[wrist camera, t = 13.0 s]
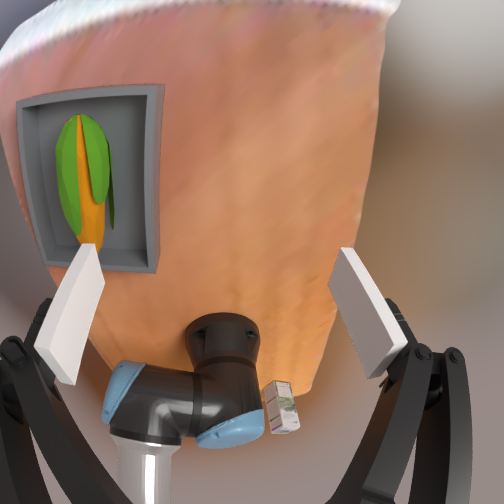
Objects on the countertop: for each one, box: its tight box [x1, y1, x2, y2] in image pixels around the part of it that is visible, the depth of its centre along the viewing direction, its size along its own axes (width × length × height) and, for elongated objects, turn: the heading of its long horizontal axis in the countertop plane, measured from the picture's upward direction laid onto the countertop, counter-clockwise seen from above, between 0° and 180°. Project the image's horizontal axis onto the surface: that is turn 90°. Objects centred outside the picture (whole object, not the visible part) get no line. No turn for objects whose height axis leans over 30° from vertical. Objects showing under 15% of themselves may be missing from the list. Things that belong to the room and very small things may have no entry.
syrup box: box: [264, 381, 300, 434], centre depth 68 cm, size 6×6×14 cm
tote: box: [16, 84, 165, 274], centre depth 32 cm, size 25×19×5 cm
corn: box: [55, 114, 115, 255], centre depth 30 cm, size 7×8×20 cm
